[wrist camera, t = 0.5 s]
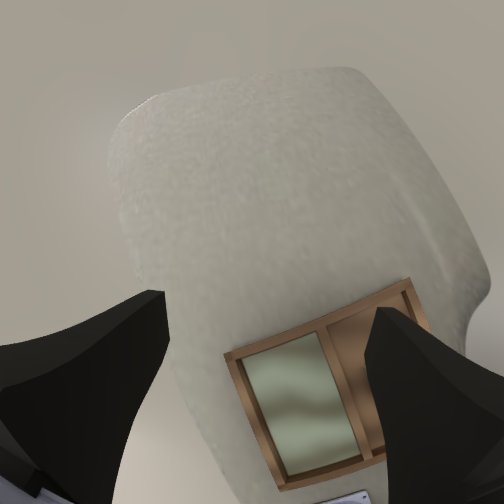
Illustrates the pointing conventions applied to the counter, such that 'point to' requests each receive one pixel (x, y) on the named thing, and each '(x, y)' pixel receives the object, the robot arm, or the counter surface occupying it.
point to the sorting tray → (318, 392)
